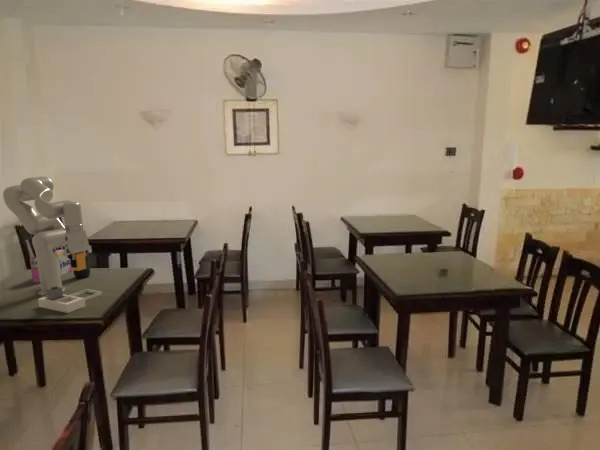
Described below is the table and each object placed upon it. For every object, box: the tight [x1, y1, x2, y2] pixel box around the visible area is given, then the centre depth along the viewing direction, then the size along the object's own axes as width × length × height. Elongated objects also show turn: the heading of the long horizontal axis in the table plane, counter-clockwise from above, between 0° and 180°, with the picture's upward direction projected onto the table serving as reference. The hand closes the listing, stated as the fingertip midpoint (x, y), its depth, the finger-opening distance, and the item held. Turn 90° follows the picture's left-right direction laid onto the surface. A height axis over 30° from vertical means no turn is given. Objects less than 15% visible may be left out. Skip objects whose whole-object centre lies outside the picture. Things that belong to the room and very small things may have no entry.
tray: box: [69, 288, 103, 302], centre depth 221 cm, size 11×13×3 cm
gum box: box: [29, 248, 73, 283], centre depth 262 cm, size 24×8×14 cm, turn 169°
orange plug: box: [72, 252, 86, 271], centre depth 218 cm, size 4×4×9 cm
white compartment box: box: [37, 293, 87, 314], centre depth 210 cm, size 23×9×6 cm, turn 63°
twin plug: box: [46, 286, 64, 301], centre depth 211 cm, size 4×4×9 cm
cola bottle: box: [73, 252, 91, 279], centre depth 257 cm, size 8×8×30 cm
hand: (78, 265), depth 218 cm, fingers closed on orange plug, 4 cm apart
